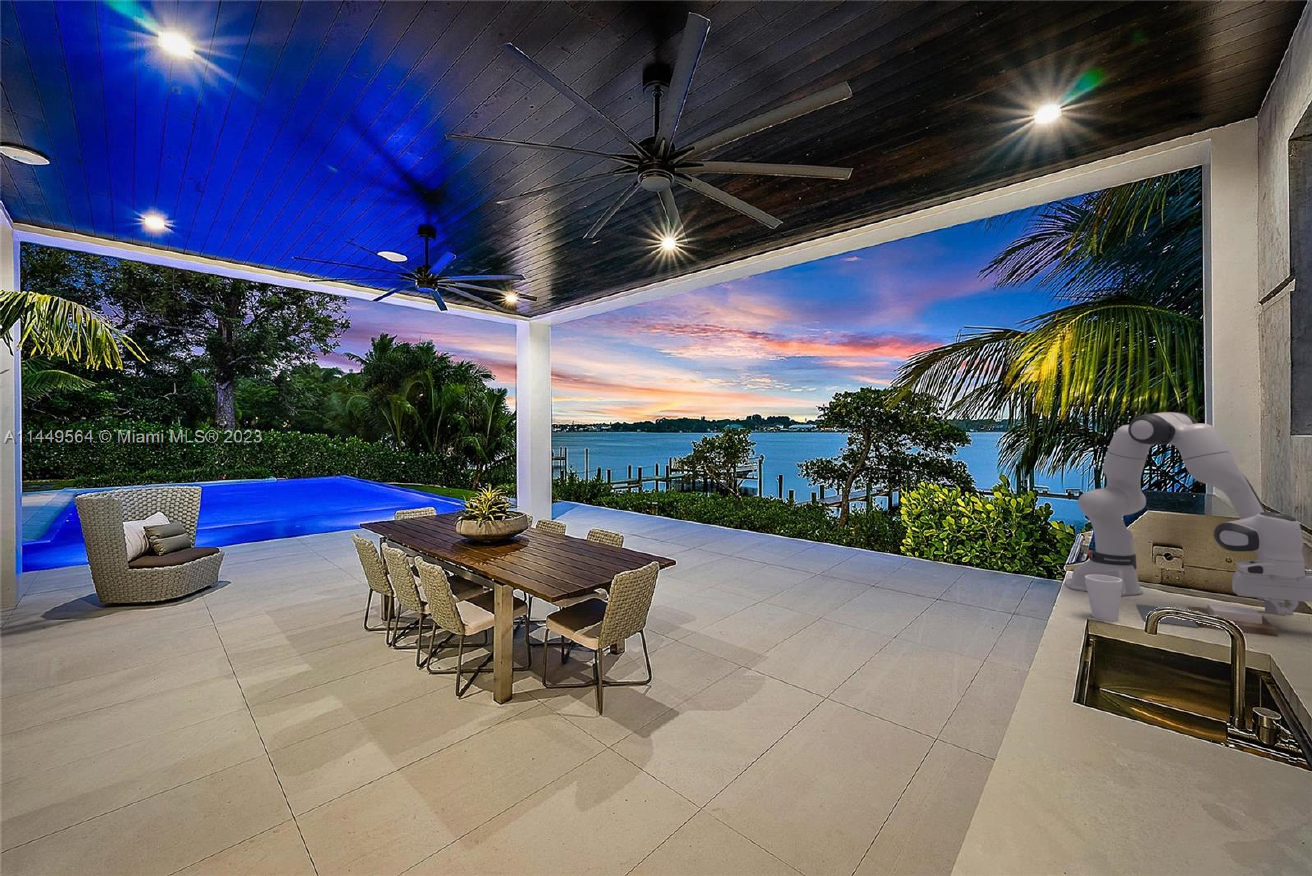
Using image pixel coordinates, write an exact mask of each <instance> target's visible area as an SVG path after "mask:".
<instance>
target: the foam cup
mask: <svg viewBox="0 0 1312 876" xmlns="http://www.w3.org/2000/svg"><path fill="white" fill-rule="evenodd" d="M1085 584H1086V586H1087V591H1086V592H1087V595H1088V599H1089V604H1090V609H1091V612H1092V613H1091V614H1092V617H1093V616H1094V617H1093V618H1095V619H1098V620H1100V621H1101V620H1102V621H1108V622H1113V621H1114V622H1117V621H1119V616H1120V607H1121V598H1122V596H1121V590H1122V588H1123V586H1122V579H1120V578H1117V577H1113V576H1107V575H1086V576H1085Z"/></svg>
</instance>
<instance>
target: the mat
mask: <svg viewBox="0 0 1312 876" xmlns="http://www.w3.org/2000/svg"><path fill="white" fill-rule="evenodd" d="M1135 605H1136V607H1137V610H1138V612H1139V613H1140V616H1141V619H1142V620H1143V621H1144V622H1145V620H1146V616H1147V615H1148V613H1149V612H1150V611H1153V610H1154V609H1156V608H1158V607H1159V606H1156V605H1148V604H1147V605H1145V604H1138V603H1136V604H1135ZM1158 624H1161V625H1162V624H1163V625H1170V626H1179V627H1187V628H1195V629H1199V628H1200V627H1199V626H1198V625H1197V624H1196V622H1194V621H1190V620H1182V619H1178V618H1174V617H1166V618H1164V619H1162V620H1160V622H1159V623H1158Z"/></svg>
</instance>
